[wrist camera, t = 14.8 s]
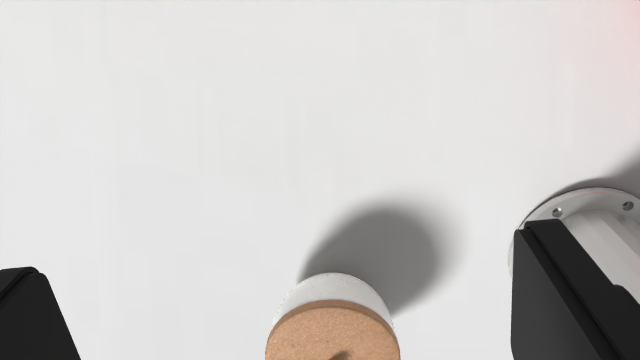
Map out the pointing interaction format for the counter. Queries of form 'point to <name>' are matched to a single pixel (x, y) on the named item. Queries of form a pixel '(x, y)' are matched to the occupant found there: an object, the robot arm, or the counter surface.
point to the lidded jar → (332, 322)
